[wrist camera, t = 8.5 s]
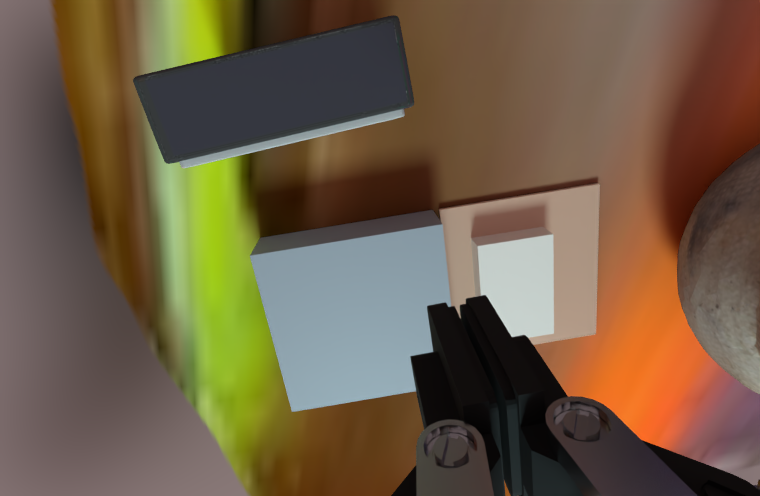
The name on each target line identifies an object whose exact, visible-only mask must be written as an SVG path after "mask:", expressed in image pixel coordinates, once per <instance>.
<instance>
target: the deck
mask: <svg viewBox="0 0 760 496" xmlns="http://www.w3.org/2000/svg"><path fill="white" fill-rule="evenodd" d="M250 258H251V261H252V265H253V269H254V273H255V276H256V280H257V284H258V287H259V291H260V295H261V298H262V302H263V306H264V309H265V313H266V317H267V321H268V324H269V328H270V332H271V335H272V339H273V343H274V346H275V350H276V354H277V358H278V361H279V365H280V369H281V372H282V376H283V380H284V383H285V387H286V391H287V394H288V398H289V402H290V406H291V409H292V412H294V411H300V410H306V409H312V408H318V407H324V406H330V405H336V404H342V403H348V402H354V401H359V400H365V399H371V398H377V397H383V396H389V395H395V394H401V393H407V392H413V391H416V387H415V382H414V376H413V370H412V365H411V358H410V356H414V355H419V354H424V353H430V352H433V347H432V340H431V333H430V326H429V319H428V312H427V306H428V305H434V304H439V303H444V302H446V303H447V305H448V307H451V300H450V290H449V281H448V271H447V262H446V252H445V242H444V233H443V224H442V223H441V221H440V220H439V218H438V217H437V215H436V214H435V212H434V211H433V210H428V211H422V212H416V213H410V214H404V215H398V216H391V217H385V218H379V219H373V220H367V221H361V222H355V223H349V224H342V225H336V226H330V227H324V228H318V229H312V230H306V231H299V232H293V233H287V234H281V235H275V236H269V237H263V238H260V239H259V241H258V243H257V244H256V246H255V248H254V250H253V251H252V253H251V255H250Z"/></svg>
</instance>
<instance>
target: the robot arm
mask: <svg viewBox="0 0 760 496" xmlns="http://www.w3.org/2000/svg"><path fill="white" fill-rule="evenodd" d="M427 312H428V319H429V326H430V333H431V340H432V347H433V352H430V353H424V354H419V355H414V356H410V358H411V365H412V370H413V376H414V382H415V387H416V393H417V398H418V403H419V407H420V412H421V416H422V421H423V425H424V431H422V433H421V435H420V436H419V438H418V441H417V446H416V466H415V467H414V468H413V470H412V471H411V472H410V473H409V475H408V476H407V477H406V478H405V480H404V481H403V482H402V483H401V484H400V486H399V487H398V488H397V489H396V491H395V492H394V493H393V494H392V496H505V486H504V480H505V483H506V485H507V488H508V490H509V493H510V495H511V496H518V495H519V496H760V480H759V481H758V485H752V484H750V483H749V482H747V481H746V480H743V479H741V478H739V477H737V476H735V475H733V474H730V473H728V472H725V471H722V470H720V469H717V468H714V467H712V466H709V465H706V464H704V463H701V462H698V461H696V460H693V459H690V458H688V457H685V456H682V455H680V454H677V453H674V452H672V451H669V450H666V449H664V448H661V447H658V446H656V445H653V444H650V443H648V442H645V441H642V440H641V439H640V438H639V437H638V436H637V435H636V434H635V433H633V432H632V431H631V430H630V429H629V428H628V427H627V426H626V425H625V424H624V423H623V422H622V421H621V420H620V419H619V418H618V417H617V416H616V415H615V414H614V413H613V412H612V411H611V410H610V409H609V408H607V407H606V406H605V405H603V404H601V403H599V402H597V401H595V400H593V399H589V398H585V397H574V396H570V397H568V396H567V395H566V393H565V392H564V390H563V389H562V387H561V386H560V384H559V383H558V381H557V380H556V378H555V377H554V375H553V374H552V372H551V371H550V369H549V368H548V366H547V365H546V363H545V362H544V360H543V359H542V357H541V356H540V354H539V353H538V351H537V350H536V349H535V347H534V346H533V344H532V343H531V341H530V340H529V338H528V337H527V336H526V335H520V336H515V337H511V335H510V333H509V332H508V330H507V328H506V327H505V325H504V324H503V322H502V320H501V319H500V317H499V315H498V314H497V312H496V310H495V309H494V307H493V306H492V304H491V302H490V301H489V299H488V297H487V296H486V295H482V296H477V297H471V298H466V304H462V305H460V316H461V319H460V316H459V314H458V312H457V310H456V308H455V306H451V307H448V305H447V303H446V302H444V303H439V304H434V305H428V306H427Z"/></svg>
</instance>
